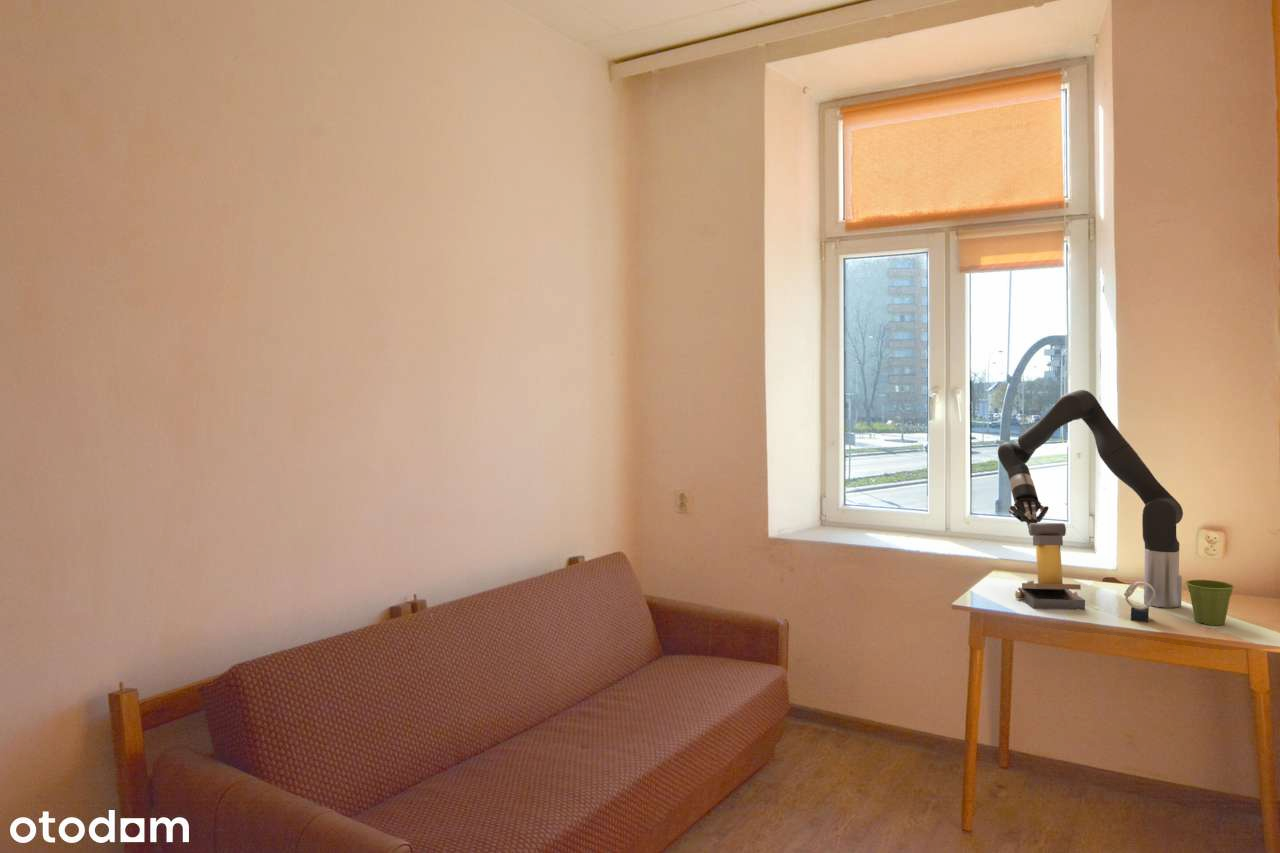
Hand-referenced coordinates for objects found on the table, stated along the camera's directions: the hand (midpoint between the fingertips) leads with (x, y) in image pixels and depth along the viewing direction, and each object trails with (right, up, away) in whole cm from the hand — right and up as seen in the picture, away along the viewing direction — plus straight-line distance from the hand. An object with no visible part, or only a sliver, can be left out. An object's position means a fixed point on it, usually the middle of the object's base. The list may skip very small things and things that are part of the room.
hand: (1034, 530), depth 284 cm
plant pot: (+32, -22, -39) cm, 55 cm away
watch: (+15, -22, -34) cm, 43 cm away
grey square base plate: (-2, -21, -15) cm, 26 cm away
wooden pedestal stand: (-2, -16, -15) cm, 23 cm away
